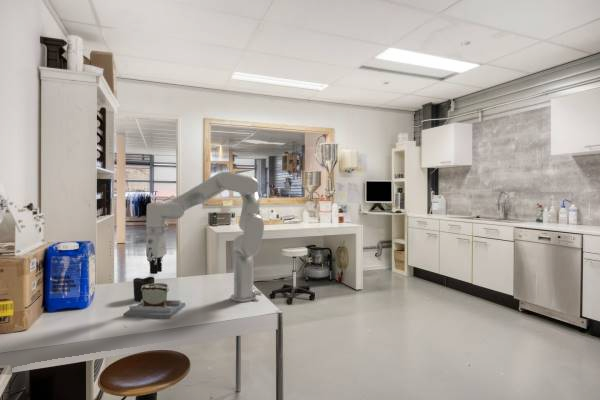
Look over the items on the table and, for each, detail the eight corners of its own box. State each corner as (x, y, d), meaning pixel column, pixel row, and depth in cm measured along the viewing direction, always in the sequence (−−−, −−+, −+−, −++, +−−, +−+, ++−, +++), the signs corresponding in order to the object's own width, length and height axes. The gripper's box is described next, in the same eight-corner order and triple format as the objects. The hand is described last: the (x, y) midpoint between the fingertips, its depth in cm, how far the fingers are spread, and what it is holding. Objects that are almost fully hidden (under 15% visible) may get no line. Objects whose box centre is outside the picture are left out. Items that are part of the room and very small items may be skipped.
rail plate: (185, 305, 158) (185, 298, 158) (169, 318, 142) (169, 310, 142) (143, 304, 160) (143, 297, 160) (123, 316, 144) (123, 308, 144)
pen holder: (146, 302, 162) (146, 281, 162) (128, 301, 164) (128, 280, 164) (158, 297, 171) (158, 277, 171) (141, 295, 173) (141, 276, 173)
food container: (174, 305, 154) (174, 283, 154) (167, 310, 148) (167, 287, 148) (148, 304, 155) (148, 282, 155) (140, 308, 149) (140, 285, 149)
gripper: (155, 233, 142) (155, 277, 142) (172, 229, 158) (172, 268, 159) (137, 232, 142) (137, 277, 143) (156, 228, 159) (156, 268, 159)
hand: (155, 272), depth 151 cm, fingers open, 3 cm apart
